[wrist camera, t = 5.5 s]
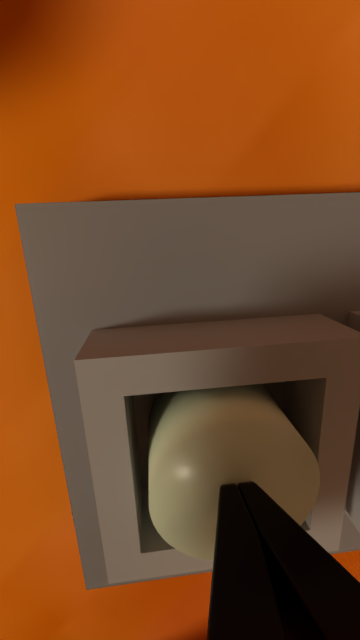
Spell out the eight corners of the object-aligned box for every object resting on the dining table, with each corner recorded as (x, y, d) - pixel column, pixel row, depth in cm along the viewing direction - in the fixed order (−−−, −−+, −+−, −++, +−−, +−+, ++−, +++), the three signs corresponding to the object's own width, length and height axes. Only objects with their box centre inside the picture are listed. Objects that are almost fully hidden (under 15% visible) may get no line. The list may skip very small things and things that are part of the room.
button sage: (270, 469, 11) (312, 548, 8) (152, 483, 10) (154, 571, 8) (276, 360, 9) (328, 411, 7) (143, 372, 9) (141, 430, 6)
